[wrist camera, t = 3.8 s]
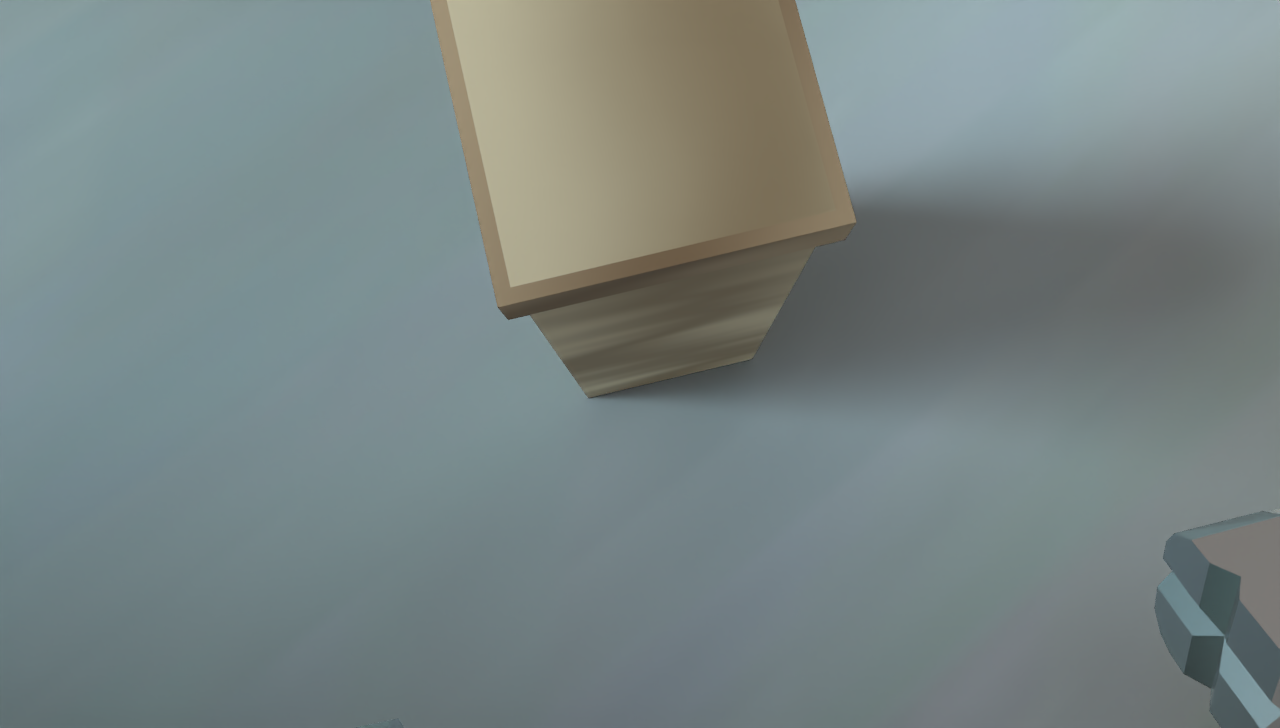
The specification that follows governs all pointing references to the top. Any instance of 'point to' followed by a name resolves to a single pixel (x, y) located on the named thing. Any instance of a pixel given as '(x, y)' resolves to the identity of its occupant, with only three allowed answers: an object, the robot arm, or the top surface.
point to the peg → (643, 173)
